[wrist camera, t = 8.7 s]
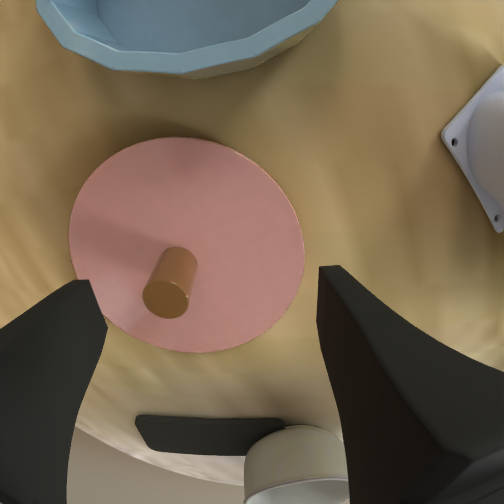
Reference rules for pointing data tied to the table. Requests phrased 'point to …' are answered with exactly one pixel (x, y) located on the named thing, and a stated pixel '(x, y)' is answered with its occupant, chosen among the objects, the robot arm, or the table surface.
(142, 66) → the bowl
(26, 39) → the table surface
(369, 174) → the table surface
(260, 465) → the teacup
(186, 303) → the pink knobbed disc
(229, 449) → the phone
